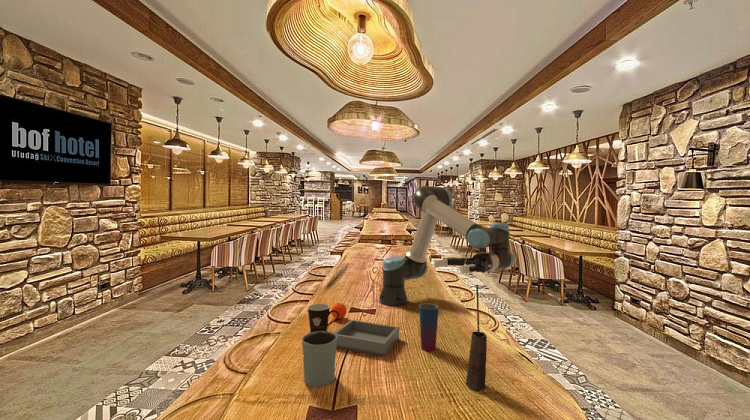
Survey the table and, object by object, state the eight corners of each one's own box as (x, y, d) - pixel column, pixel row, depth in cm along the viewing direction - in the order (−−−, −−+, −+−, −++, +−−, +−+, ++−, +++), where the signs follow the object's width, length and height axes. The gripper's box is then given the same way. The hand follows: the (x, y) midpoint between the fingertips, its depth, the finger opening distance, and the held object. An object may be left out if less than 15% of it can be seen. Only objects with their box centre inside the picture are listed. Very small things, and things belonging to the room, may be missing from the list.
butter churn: (500, 399, 81) (501, 292, 81) (462, 395, 83) (463, 290, 82) (492, 380, 90) (494, 284, 90) (458, 377, 92) (459, 282, 92)
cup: (426, 342, 115) (426, 302, 115) (441, 348, 111) (442, 306, 111) (414, 348, 111) (415, 305, 111) (430, 354, 106) (431, 310, 106)
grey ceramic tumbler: (305, 391, 84) (305, 347, 83) (298, 373, 93) (299, 333, 93) (341, 383, 88) (341, 341, 88) (331, 366, 97) (332, 328, 97)
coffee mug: (303, 333, 122) (303, 308, 122) (316, 326, 130) (317, 302, 130) (327, 339, 117) (327, 313, 117) (340, 331, 125) (340, 306, 125)
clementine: (346, 315, 144) (346, 299, 144) (350, 320, 138) (350, 304, 138) (329, 316, 142) (329, 301, 142) (332, 322, 135) (332, 305, 135)
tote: (351, 330, 126) (351, 319, 126) (398, 338, 118) (399, 327, 118) (331, 346, 111) (331, 334, 111) (384, 357, 103) (384, 343, 103)
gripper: (512, 276, 117) (475, 283, 105) (461, 266, 138) (425, 271, 126) (512, 256, 117) (475, 261, 105) (461, 249, 138) (425, 252, 126)
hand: (447, 266), depth 116 cm, fingers open, 13 cm apart
